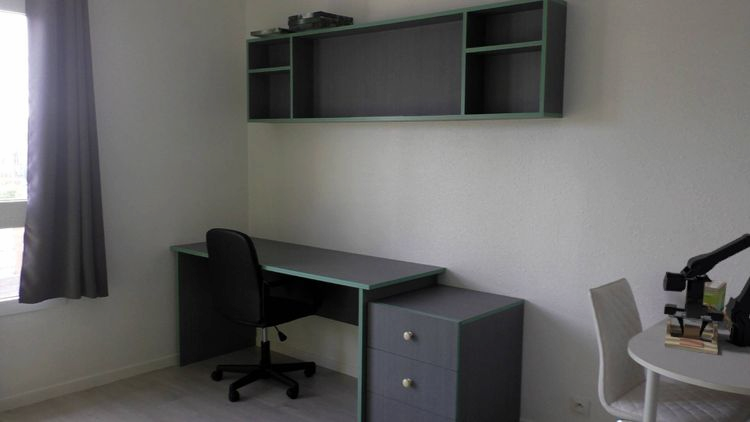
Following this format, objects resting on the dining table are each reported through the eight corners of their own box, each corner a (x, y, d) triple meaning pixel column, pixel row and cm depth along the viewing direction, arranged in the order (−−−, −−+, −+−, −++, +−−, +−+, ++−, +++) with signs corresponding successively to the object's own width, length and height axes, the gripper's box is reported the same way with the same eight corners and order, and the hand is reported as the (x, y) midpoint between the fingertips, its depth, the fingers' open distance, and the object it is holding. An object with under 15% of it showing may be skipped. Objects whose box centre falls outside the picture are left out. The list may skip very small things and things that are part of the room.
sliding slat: (717, 323, 231) (717, 319, 230) (668, 316, 238) (668, 312, 238) (717, 320, 235) (717, 315, 235) (669, 313, 242) (669, 309, 242)
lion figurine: (698, 327, 243) (700, 304, 242) (696, 323, 248) (698, 300, 247) (742, 332, 238) (744, 308, 237) (739, 328, 243) (741, 304, 242)
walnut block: (698, 342, 225) (700, 329, 224) (683, 339, 227) (684, 327, 227) (698, 338, 229) (700, 325, 229) (683, 335, 232) (684, 323, 231)
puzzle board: (717, 354, 212) (718, 341, 212) (664, 346, 219) (665, 333, 219) (715, 334, 235) (716, 321, 234) (667, 327, 242) (668, 314, 241)
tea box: (716, 325, 245) (720, 288, 243) (688, 320, 251) (691, 283, 249) (723, 317, 257) (727, 281, 255) (696, 312, 263) (699, 277, 261)
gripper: (664, 294, 223) (661, 337, 225) (725, 302, 215) (721, 347, 217) (666, 287, 233) (663, 329, 235) (724, 294, 225) (720, 338, 227)
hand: (691, 336), depth 228 cm, fingers closed on walnut block, 5 cm apart
